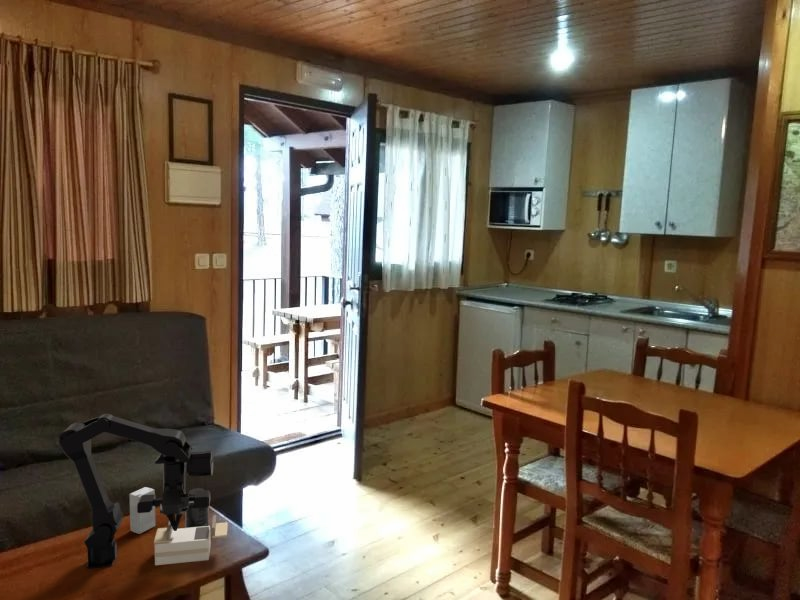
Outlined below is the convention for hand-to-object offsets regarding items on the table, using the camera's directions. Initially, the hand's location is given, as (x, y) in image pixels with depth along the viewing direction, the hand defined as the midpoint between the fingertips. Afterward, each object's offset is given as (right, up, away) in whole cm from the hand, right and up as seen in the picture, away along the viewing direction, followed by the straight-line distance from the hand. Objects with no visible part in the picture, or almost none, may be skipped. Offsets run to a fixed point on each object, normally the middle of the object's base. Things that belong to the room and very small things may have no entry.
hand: (175, 530), depth 172 cm
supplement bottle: (+1, -6, +16) cm, 17 cm away
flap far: (+12, -1, +3) cm, 12 cm away
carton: (+2, -8, +1) cm, 8 cm away
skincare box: (-16, -6, +16) cm, 23 cm away
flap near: (-3, -1, -1) cm, 3 cm away
